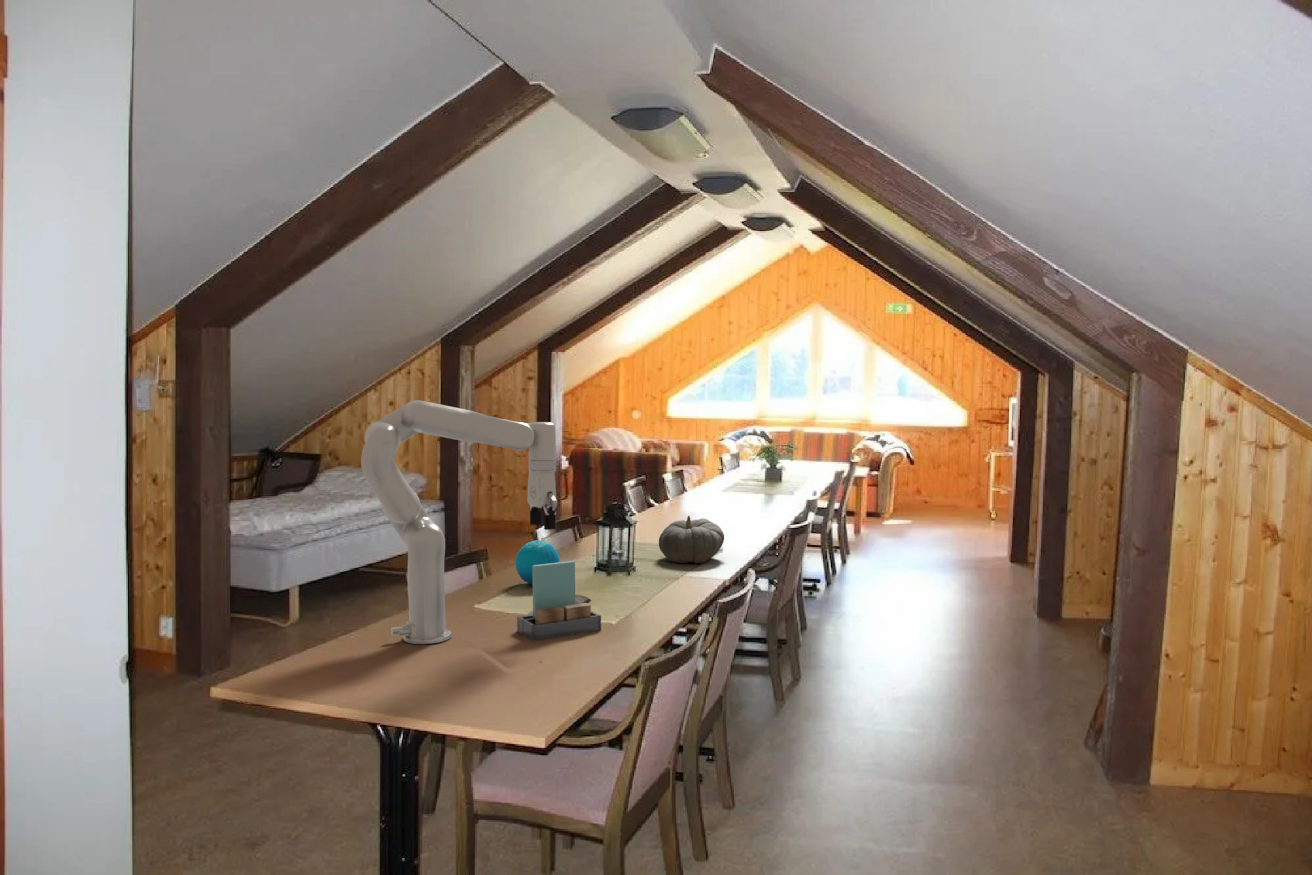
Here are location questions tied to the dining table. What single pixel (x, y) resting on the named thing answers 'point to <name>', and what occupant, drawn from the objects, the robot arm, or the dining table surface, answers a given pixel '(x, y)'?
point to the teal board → (553, 585)
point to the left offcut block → (549, 615)
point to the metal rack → (557, 627)
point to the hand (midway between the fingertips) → (542, 526)
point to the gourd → (691, 540)
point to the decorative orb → (534, 558)
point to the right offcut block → (577, 611)
